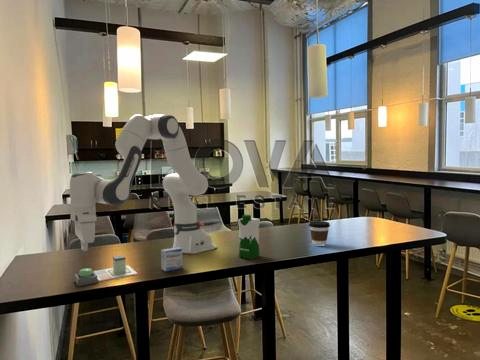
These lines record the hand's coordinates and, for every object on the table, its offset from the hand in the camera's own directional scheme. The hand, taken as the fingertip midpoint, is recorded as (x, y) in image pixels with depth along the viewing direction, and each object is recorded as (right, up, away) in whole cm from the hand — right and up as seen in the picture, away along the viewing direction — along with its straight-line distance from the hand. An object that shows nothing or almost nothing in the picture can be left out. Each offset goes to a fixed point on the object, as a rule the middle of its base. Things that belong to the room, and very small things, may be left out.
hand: (84, 250), depth 142 cm
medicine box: (+31, -11, +16) cm, 36 cm away
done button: (0, -11, +1) cm, 11 cm away
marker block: (+10, -11, +11) cm, 18 cm away
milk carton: (+64, -10, +32) cm, 72 cm away
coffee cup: (+101, -8, +52) cm, 114 cm away
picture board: (+8, -12, +10) cm, 17 cm away
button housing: (0, -12, +1) cm, 12 cm away
